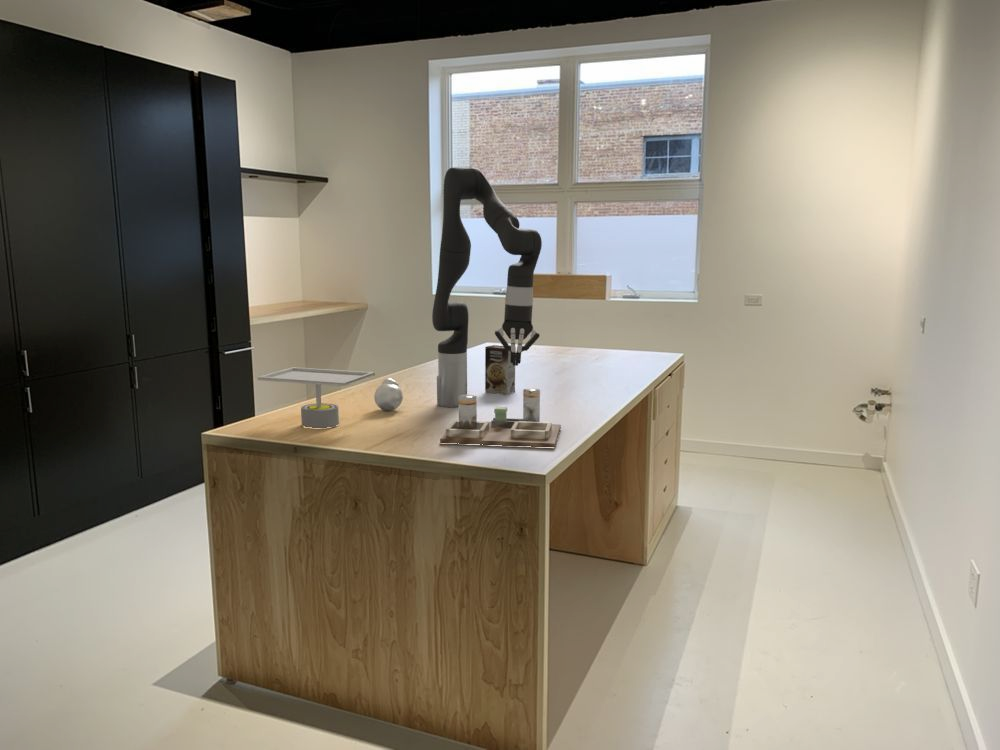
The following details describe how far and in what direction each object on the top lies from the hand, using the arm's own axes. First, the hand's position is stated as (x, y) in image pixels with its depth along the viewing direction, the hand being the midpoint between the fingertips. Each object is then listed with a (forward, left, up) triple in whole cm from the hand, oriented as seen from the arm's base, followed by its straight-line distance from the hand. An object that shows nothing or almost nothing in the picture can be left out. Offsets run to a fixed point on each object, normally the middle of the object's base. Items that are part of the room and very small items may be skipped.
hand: (515, 365), depth 208 cm
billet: (+4, +7, -18) cm, 20 cm away
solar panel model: (-56, -5, -19) cm, 59 cm away
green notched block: (-4, -2, -17) cm, 17 cm away
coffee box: (-12, +50, -19) cm, 55 cm away
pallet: (-2, -9, -18) cm, 20 cm away
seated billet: (-11, -12, -17) cm, 23 cm away
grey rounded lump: (-42, +17, -19) cm, 49 cm away
